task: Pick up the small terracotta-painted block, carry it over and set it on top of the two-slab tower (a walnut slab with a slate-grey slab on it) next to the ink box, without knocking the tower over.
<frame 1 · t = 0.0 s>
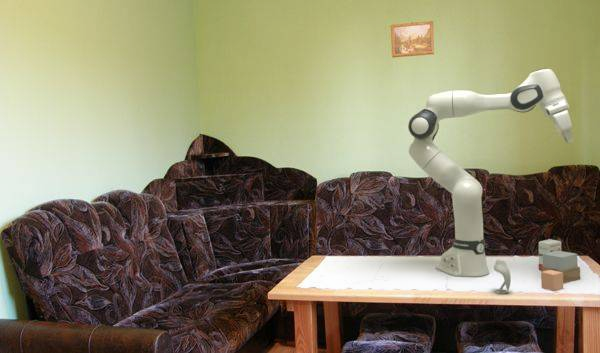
hand: (569, 142, 183), 52 cm above the table, tool tilted 20°, fingers open, 8 cm apart
slate block: (560, 266, 185), point 5 cm above the table
terracotta block: (552, 288, 174), on the table
figurine: (502, 292, 173), on the table
ink box: (550, 270, 199), on the table
walnut block: (560, 279, 185), on the table
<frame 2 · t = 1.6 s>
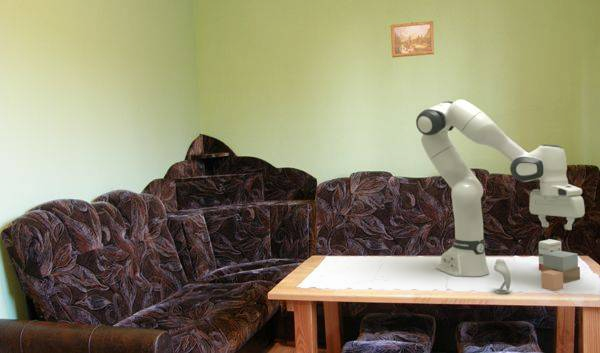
hand: (556, 228, 172), 22 cm above the table, tool pointing down, fingers open, 8 cm apart
slate block: (560, 266, 185), point 5 cm above the table, touching walnut block
walnut block: (560, 279, 185), on the table, touching slate block
everything else where it was.
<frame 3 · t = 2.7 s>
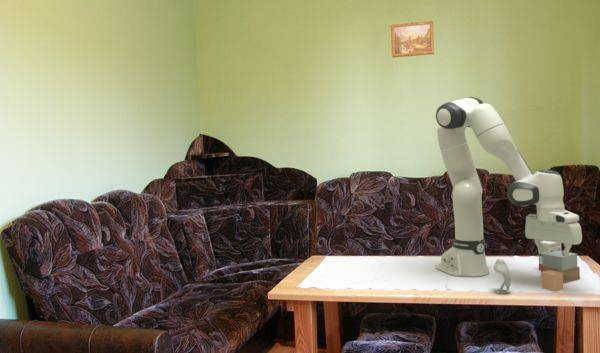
hand: (553, 253, 173), 13 cm above the table, tool pointing down, fingers open, 8 cm apart
nothing on the table moved.
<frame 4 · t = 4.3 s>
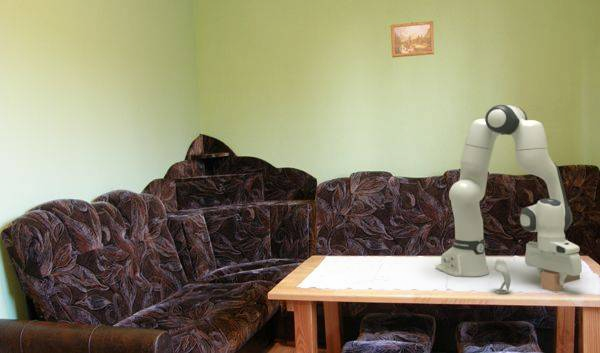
hand: (552, 282, 174), 2 cm above the table, tool pointing down, fingers closed on terracotta block, 5 cm apart
terracotta block: (552, 288, 174), on the table, touching gripper
everything else where it was.
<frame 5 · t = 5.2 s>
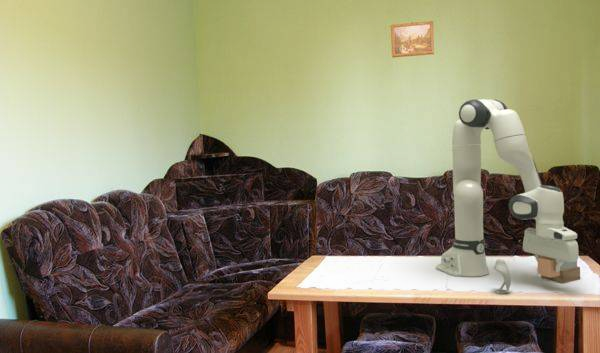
hand: (548, 269, 174), 7 cm above the table, tool pointing down, fingers closed on terracotta block, 5 cm apart
terracotta block: (548, 274, 174), point 5 cm above the table, touching gripper
everything else where it was.
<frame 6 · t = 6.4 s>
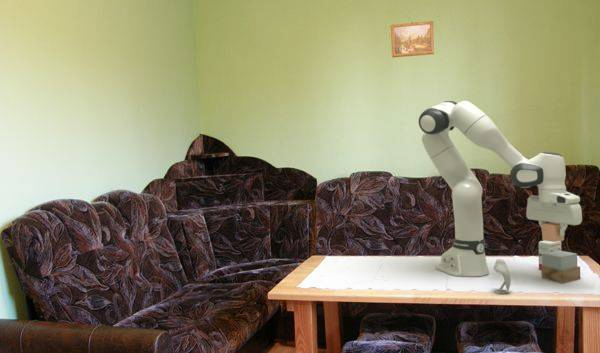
hand: (553, 234, 176), 19 cm above the table, tool pointing down, fingers closed on terracotta block, 5 cm apart
slate block: (559, 266, 185), point 5 cm above the table
terracotta block: (553, 240, 176), point 17 cm above the table, touching gripper
walnut block: (560, 279, 185), on the table
everything else where it was.
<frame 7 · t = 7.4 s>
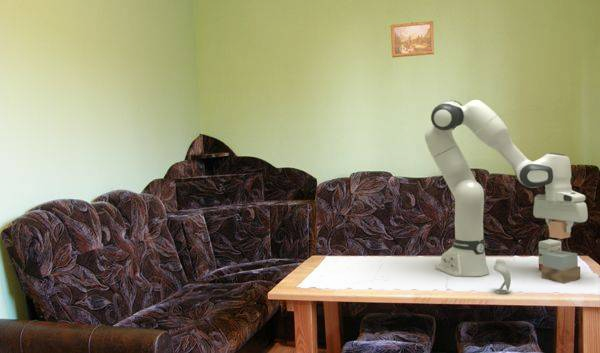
hand: (559, 231, 184), 18 cm above the table, tool pointing down, fingers closed on terracotta block, 5 cm apart
slate block: (560, 266, 185), point 5 cm above the table, touching walnut block
terracotta block: (559, 237, 184), point 16 cm above the table, touching gripper
walnut block: (560, 279, 185), on the table, touching slate block
everything else where it was.
when the fingers open (13 cm above the table, at t = 8.8 s): terracotta block drops 1 cm, resting on slate block.
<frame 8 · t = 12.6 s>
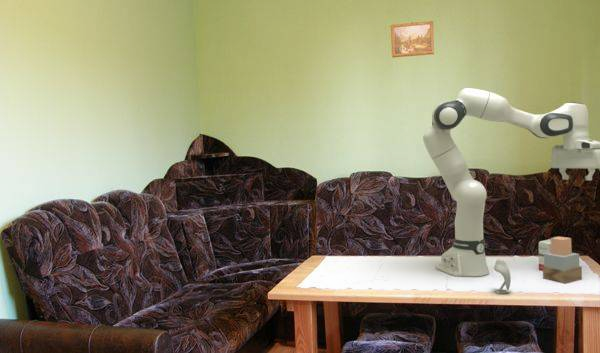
hand: (577, 180, 188), 37 cm above the table, tool pointing down, fingers open, 8 cm apart
slate block: (561, 266, 185), point 5 cm above the table, touching terracotta block, walnut block
terracotta block: (561, 253, 184), point 10 cm above the table, touching slate block
everything else where it was.
at the end: terracotta block inside the target area on the slate block (0.0 cm from its centre), point 5.0 cm above the slate block's base; terracotta block tilted 0°; slate block moved 0.5 cm from its start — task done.
